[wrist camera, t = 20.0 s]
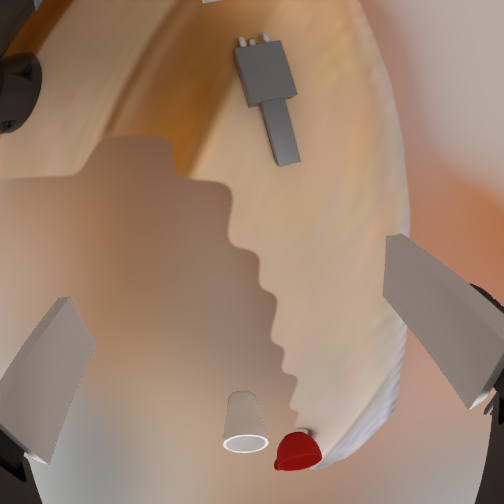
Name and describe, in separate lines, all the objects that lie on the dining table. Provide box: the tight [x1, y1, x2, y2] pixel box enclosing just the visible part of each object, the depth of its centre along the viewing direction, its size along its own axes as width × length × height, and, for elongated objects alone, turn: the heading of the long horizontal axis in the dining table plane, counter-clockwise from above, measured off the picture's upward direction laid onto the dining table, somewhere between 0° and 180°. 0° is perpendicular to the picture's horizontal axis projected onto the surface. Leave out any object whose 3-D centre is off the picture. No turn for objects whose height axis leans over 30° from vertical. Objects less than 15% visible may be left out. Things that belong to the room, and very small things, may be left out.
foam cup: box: [223, 391, 269, 453], centre depth 53 cm, size 10×9×13 cm
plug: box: [234, 32, 301, 167], centre depth 33 cm, size 19×6×5 cm, turn 15°
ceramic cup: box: [274, 432, 322, 471], centre depth 66 cm, size 13×17×10 cm
